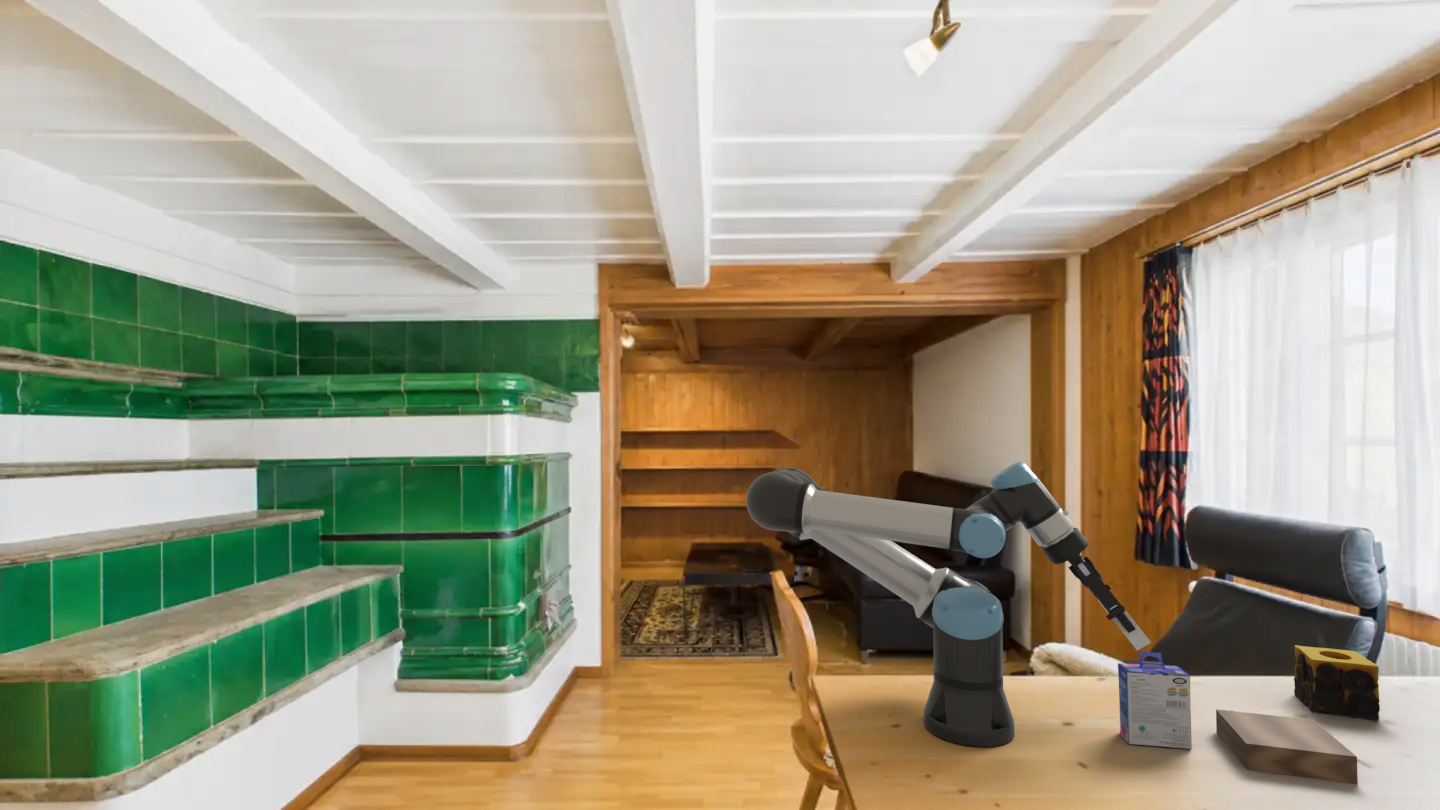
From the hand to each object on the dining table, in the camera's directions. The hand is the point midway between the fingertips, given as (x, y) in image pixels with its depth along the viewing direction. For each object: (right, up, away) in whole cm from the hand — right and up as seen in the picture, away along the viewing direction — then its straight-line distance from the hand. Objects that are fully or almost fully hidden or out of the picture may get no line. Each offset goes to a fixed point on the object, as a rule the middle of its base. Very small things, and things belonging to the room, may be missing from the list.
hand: (1134, 635), depth 130 cm
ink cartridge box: (-2, -15, -9) cm, 18 cm away
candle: (+41, -16, +5) cm, 44 cm away
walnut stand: (+15, -15, -14) cm, 26 cm away
